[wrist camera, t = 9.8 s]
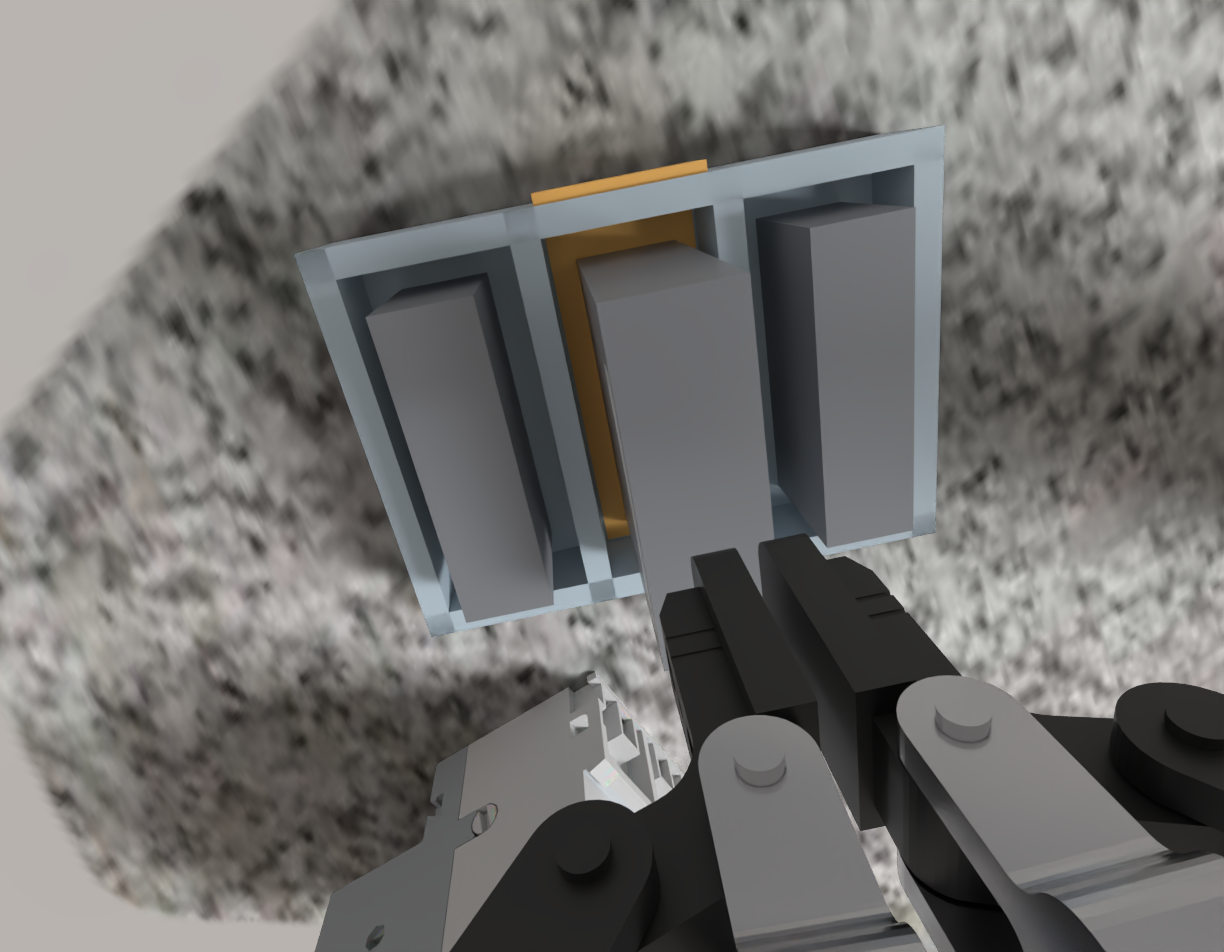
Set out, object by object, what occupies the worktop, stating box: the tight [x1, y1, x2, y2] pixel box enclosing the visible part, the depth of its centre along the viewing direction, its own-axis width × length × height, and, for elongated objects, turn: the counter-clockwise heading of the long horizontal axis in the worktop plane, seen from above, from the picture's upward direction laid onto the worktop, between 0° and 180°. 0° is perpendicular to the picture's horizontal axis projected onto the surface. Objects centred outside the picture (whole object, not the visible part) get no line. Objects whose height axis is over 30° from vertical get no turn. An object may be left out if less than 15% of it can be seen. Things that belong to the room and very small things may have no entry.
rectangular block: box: [576, 240, 774, 671], centre depth 18 cm, size 3×9×8 cm, turn 10°
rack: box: [294, 125, 945, 637], centre depth 20 cm, size 17×12×6 cm
